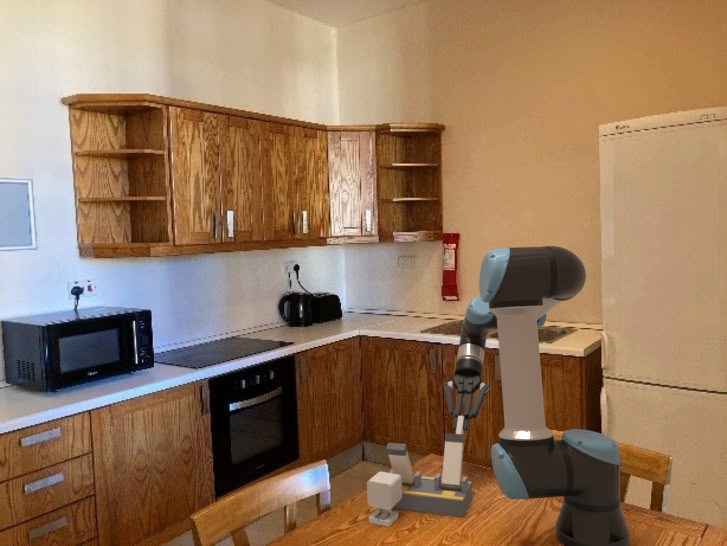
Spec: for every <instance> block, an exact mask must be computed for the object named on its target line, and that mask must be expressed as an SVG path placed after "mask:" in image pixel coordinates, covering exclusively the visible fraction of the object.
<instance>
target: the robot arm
mask: <svg viewBox="0 0 727 546" xmlns="http://www.w3.org/2000/svg"><path fill="white" fill-rule="evenodd" d="M586 271H587V270H586V267H585V265H584V263H583V261H582V260H581V259H580V258H579V257H578V256H577V254H575V253H574V252H572V251H571V250H569V249H567V248H564V247H561V246H557V245H546V246H523V247H522V246H520V247H519V246H517V247H516V246H515V247H504V248H497V249H491V250H489V251H487V253H486V254H485V255H484V256H483V259H482V261H481V266H480V271H479V278H478V279H479V281H478V282H479V283H478V289H479V295H478V296H475V297H473V298H471V300H470V301H469V302H468V304H467V308H466V310H465V316H464V318H463V320H462V323H461V326H460V327H461V328H460V329H461V331H460V336H459V345H458V351H457V357H456V363H455V370H454V375H453V377H452V378H451V381H448V382H447V381H443V383H442V384H443V387H444V390H445V391H446V393H445V394H446V402H447V410H448V414H449V417H450V418H453V430H455V434H463V435H465V433H464V432H465V431H468V430H469V427H470V426H469V425H470V420H471V419H472V420H473V419H474V420H475V419H477V418H478V415H479V412H480V410H481V408H482V406H483V403H484V400H485V398H486V396H487V395H488V393H490V392H491V391H490V390H491V389H490V386H489V384H488V383H484V382H483V379H482V377H483V376H482V375H483V367H484V362H485V361H484V359H485V353H486V343H487V338H488V335H489V331H490V330H497V337H498V352H499V366H500V367H499V368H500V379H501V393H502V405H503V408H502V409H503V419H504V427H503V429H502V430H500V432H498V443H497V442H496V443H494V444H492V445H491V448H490V450H491V453H490V455H491V456H490V457H491V463H492V468H493V472H494V476H495V479H496V481H497V485H498V487H499V488H500V491H501V493H502V495H504V496H505V497H506V498H507V499H510V500H525V501H528V500H531V499H532V500H534V499H545V498H558V497H563V501H562V502H563V503H562V504H561V507H560V508H561V509H560V511H559V514H558V517H557V520H556V522H555V523H556V524H555V536H556V538H557V540H558V542H560V544H561V545H563V546H630V544H631V543H630V531H629V528H628V525H627V522H626V520H625V516H624V514H623V510H622V508H621V464H622V463H621V458H620V448H619V445H618V443H617V442H616V440H614V439H613V438H612V437H610V436H608V435H605V434H603V433H600V432H596V431H593V430H589V429H580V428H573V429H570V428H569V429H567V430H564V431H563V432H562V434H561V437H560V438H561V439H557V440H555V439H554V437H555V436H554V432H552V431H551V430H550V429H549V428H548V427H547V426H546V417H545V416H546V415H545V405H544V393H543V391H544V390H543V382H542V381H543V380H542V368H541V367H542V365H541V356H540V355H541V353H540V343H539V342H540V341H539V330H538V327H543V326H544V324H545V323H546V320H547V314H548V313H549V312H550V311H551V310H552V309H553V308H555V307H556V306H557V305H558V304H560V303H561V302H565V301H569V300H571V299H573V298H574V297H575V296H577V295H578V294H580V293H581V291H582V290H583V288H584V287H585V283H586V281H587V280H586V279H587V274H586ZM453 386H454V388H455V389H456V392H457V394H456V401H455V407H454V399H453V393H452V391H453ZM478 390H479V391H478ZM476 391H478V395H477V397H476V399H475V402H474V403H473V400H474V396H475V395H474V394H475V393H476ZM465 396H466V398H465ZM464 398H465V403H464ZM463 403H464V404H465V405H464V404H463ZM463 405H464V412H463V415H462V408H463ZM472 406H473V407H472Z"/></svg>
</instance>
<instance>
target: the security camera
mask: <svg viewBox="0 0 727 546" xmlns="http://www.w3.org/2000/svg"><path fill="white" fill-rule="evenodd" d="M366 495H367V496H366V497H367V498H366V499H367V505H368V506H369V507H371V508H376V510H375V511H373V513H371V514H370V515H369V516H368V523H369V524H373V525H378V526H383V527H388V528H389V527H391V526H392V524H394V522H395V521H397V519H398V518H399V511H397V510H396V511H395V510H392V509H394V508H393V507H394V506H395V505H396V504H397V503H398V502H399V501H400V500H401V499H402V481H401V476H400V475H399V474H393V473H389V472H385V471H378V472H377V473H376V474H375V475H373V476H372V477H370V479H369V480H367V481H366Z"/></svg>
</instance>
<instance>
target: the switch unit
mask: <svg viewBox="0 0 727 546" xmlns="http://www.w3.org/2000/svg"><path fill="white" fill-rule="evenodd" d="M388 473H393V470H392V468H391V469H390V470H389V472H388ZM393 474H394V473H393ZM413 476H414V485H413V484H405V483H402V499H401V500H400V501H399V502H398V503H397V504H396V505H395V506H394V507H393V508H392V509H396V510H397V509H398V510H404V511H412V512H420V513H426V514H435V515H444V516H450V517H459V518H464V516H465V514H466V512H467V510H468V508H469V506H470V504H471V501H472V499H473V483H472V481H470V480H469V479H468V476H467V475H466V476H465V475H463V477H461V488H462V490H457V489H449V488H441V487H440V483H441V482H442V474H441V473H436V475H435V476H434V477H433V476H432V477H430V476H425V475H424V476H422V471H417V470H416V472H415V474H413Z"/></svg>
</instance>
